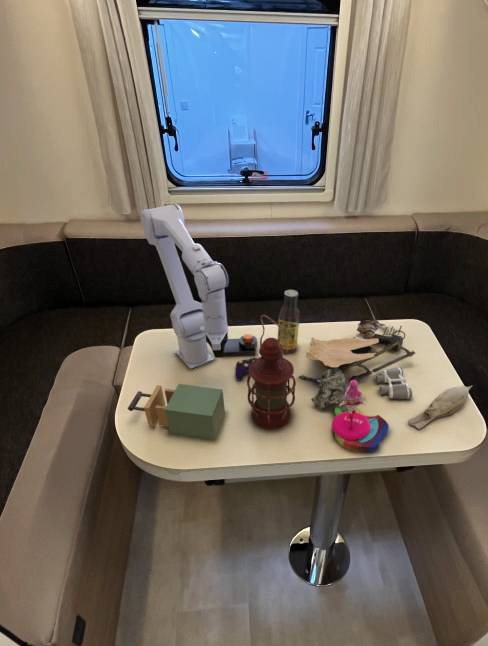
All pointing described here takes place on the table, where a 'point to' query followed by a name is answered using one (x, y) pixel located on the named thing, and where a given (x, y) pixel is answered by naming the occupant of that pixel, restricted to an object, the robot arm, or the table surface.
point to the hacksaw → (368, 372)
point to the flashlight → (389, 339)
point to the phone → (357, 351)
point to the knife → (309, 378)
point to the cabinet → (195, 411)
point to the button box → (240, 347)
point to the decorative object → (371, 439)
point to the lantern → (271, 384)
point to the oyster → (368, 327)
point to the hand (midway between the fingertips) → (218, 356)
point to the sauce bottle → (289, 321)
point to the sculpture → (442, 405)
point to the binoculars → (394, 390)
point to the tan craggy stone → (339, 350)
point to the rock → (331, 388)
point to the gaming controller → (243, 367)
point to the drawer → (153, 405)
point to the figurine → (351, 416)
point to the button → (247, 338)
